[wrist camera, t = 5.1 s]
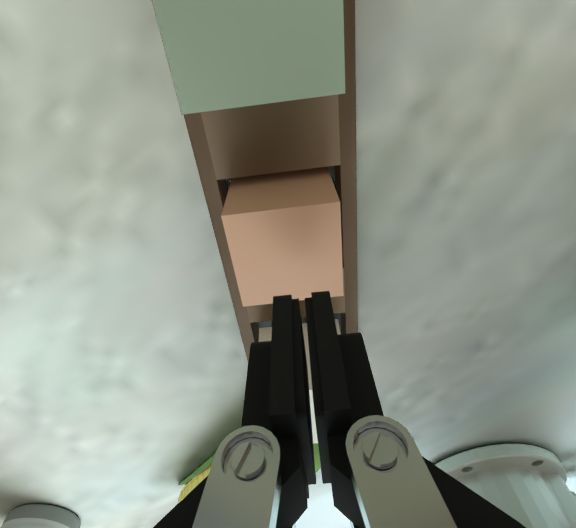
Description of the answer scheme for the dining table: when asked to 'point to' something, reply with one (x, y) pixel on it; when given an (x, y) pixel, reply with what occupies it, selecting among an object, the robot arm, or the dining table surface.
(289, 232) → the terracotta block
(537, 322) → the dining table surface
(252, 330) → the button board
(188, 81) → the sage block
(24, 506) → the travel mug
